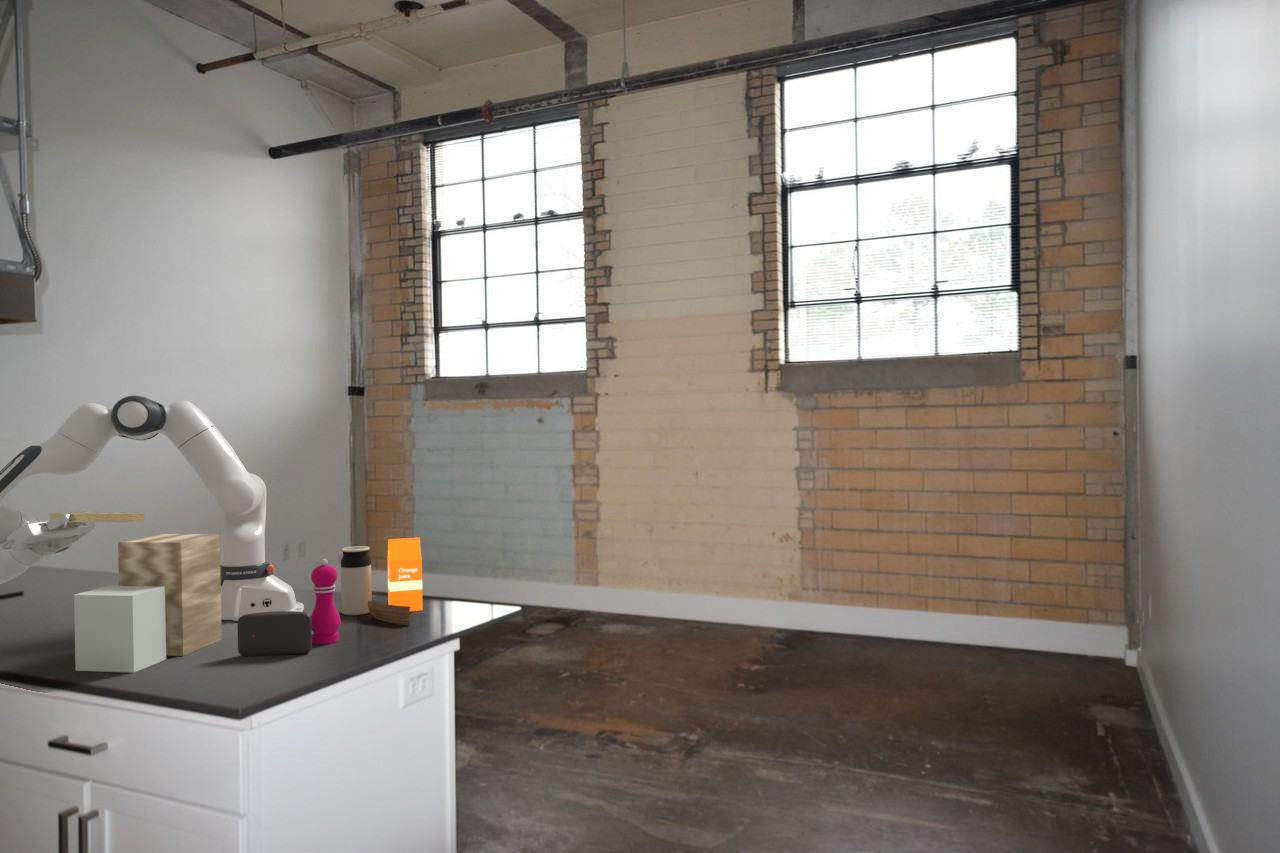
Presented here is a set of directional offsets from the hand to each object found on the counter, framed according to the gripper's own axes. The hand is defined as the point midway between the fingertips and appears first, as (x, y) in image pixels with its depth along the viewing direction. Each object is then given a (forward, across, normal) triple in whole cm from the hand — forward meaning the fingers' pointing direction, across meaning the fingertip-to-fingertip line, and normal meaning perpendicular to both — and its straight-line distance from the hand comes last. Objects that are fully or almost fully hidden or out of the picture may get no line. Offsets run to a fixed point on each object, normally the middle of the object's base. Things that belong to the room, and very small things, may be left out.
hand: (77, 515), depth 206 cm
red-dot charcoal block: (+30, -4, +54) cm, 62 cm away
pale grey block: (+4, -15, +39) cm, 42 cm away
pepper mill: (+35, +9, +57) cm, 67 cm away
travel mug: (+29, +38, +53) cm, 72 cm away
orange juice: (+40, +44, +59) cm, 84 cm away
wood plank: (+42, +28, +60) cm, 79 cm away
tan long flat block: (+4, 0, +4) cm, 5 cm away
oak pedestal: (+5, 0, +39) cm, 40 cm away
